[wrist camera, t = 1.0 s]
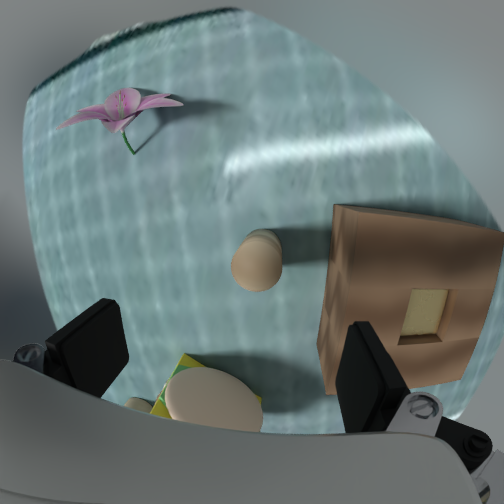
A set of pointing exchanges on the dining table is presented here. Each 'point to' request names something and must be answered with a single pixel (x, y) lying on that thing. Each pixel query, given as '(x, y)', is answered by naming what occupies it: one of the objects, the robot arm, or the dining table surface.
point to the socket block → (407, 288)
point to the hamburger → (208, 398)
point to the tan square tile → (424, 311)
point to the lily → (120, 110)
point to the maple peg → (258, 261)
